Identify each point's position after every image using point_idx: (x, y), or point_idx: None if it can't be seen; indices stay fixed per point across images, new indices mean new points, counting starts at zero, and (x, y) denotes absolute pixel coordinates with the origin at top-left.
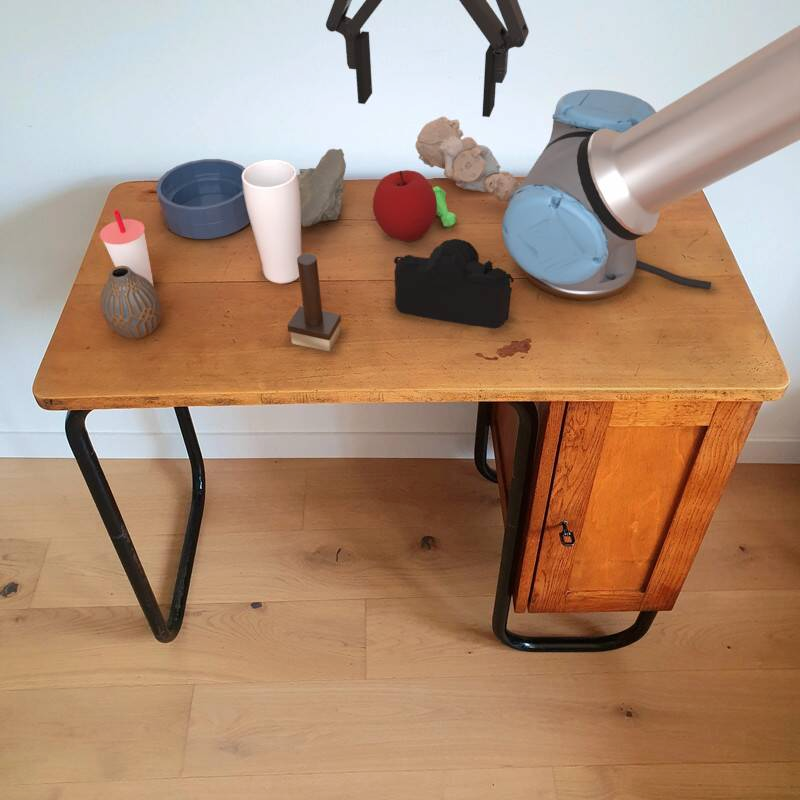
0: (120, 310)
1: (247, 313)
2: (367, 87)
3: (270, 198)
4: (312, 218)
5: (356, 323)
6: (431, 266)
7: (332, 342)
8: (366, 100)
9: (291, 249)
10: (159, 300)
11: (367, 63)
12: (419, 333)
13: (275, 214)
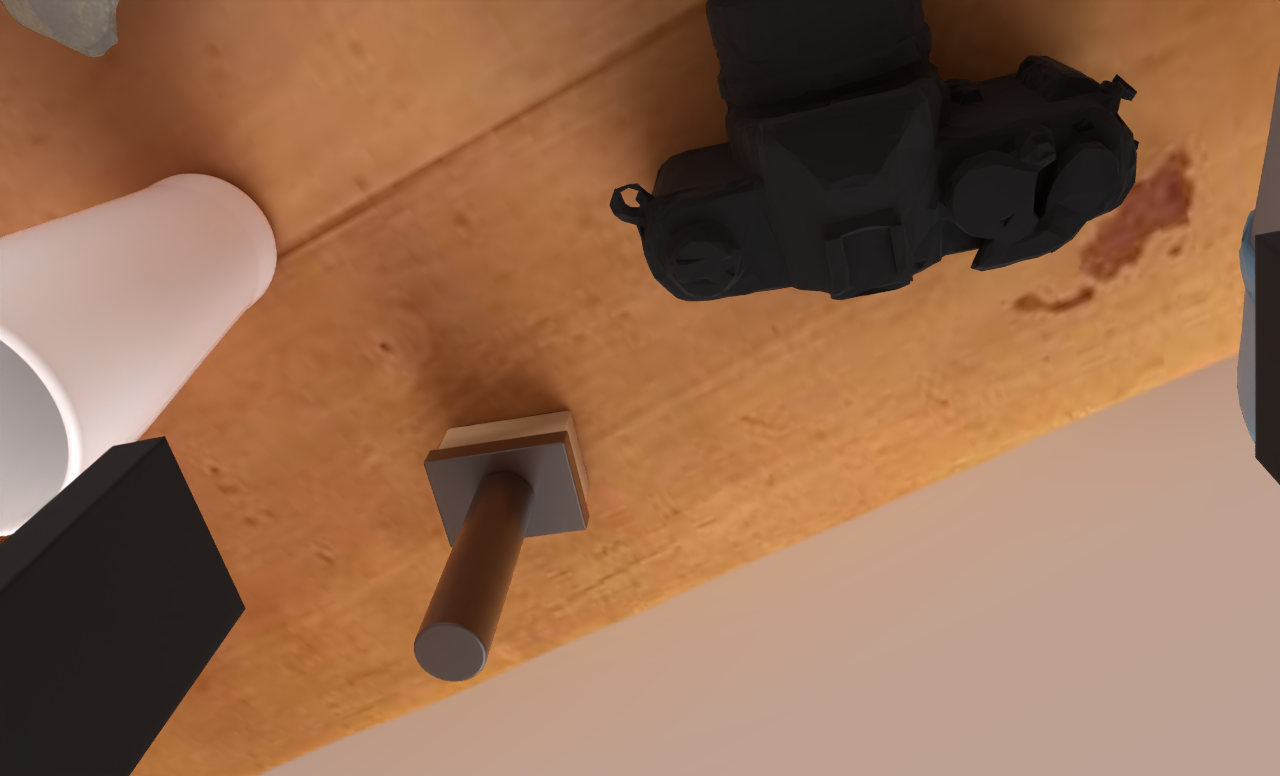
0: None
1: (267, 453)
2: (161, 590)
3: None
4: (103, 27)
5: (588, 348)
6: (815, 283)
7: (582, 475)
8: (225, 578)
9: (226, 323)
10: None
11: (27, 704)
12: (800, 299)
13: None
